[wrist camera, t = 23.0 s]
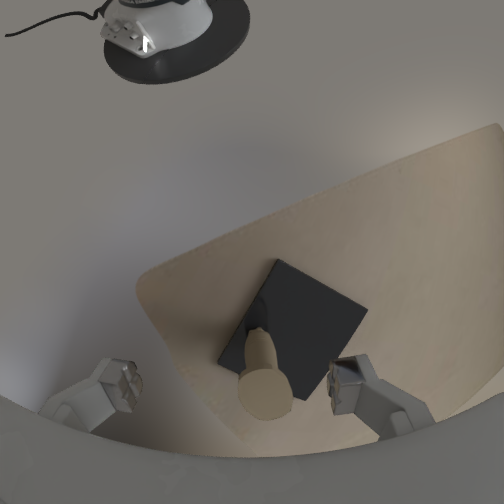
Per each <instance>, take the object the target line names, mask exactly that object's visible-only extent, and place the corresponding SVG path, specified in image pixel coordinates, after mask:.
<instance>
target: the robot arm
mask: <svg viewBox="0 0 504 504" xmlns="http://www.w3.org/2000/svg"><path fill="white" fill-rule="evenodd" d="M98 12H99V13H100V14H101V15H102V17H103V18H105V20H106V23H105V24H104V26H103V28H102V30H101V33H100V34H101V37H102V38H104V39H106V40H108V41H110V42H112V43H114V44H116V45H118V46H119V47H121V48H123V49H125V50H127V51H129V52H131V53H132V54H134V55H136V56H138V57H140V58H147V57H150V56H152V55H153V54H155V53H157V52H159V51H162V50H167V49H172V48H176V47H179V46H182V45H185V44H187V43H189V42H191V41H193V40H195V39H196V38H198V37H199V36H200V35H202V34H203V33H204V32H205V31H206V30H207V29H208V27H209V26H210V24H211V22H212V18H213V15H212V11H211V9H210V8H209V6H208V4H207V2H206V0H107V1H106V2H105V3H104V4H103V5H102V7H100V8H98V9H96V10H95V12H94V15H93V16H91V15H89V14H87V13H85V12H79V11H78V12H69V13H65V14H61V15H57V16H54V17H51V18H49V19H46V20H44V21H41V22H39V23H37V24H35V25H33V26H31V27H29V28H26V29H24V30H22V31H19V32H16V33H12V34H6V35H5V37H11V36H15V35H18V34H21V33H23V32H26V31H28V30H30V29H32V28H35V27H37V26H39V25H41V24H44V23H46V22H48V21H51V20H54V19H57V18H61V17H65V16H70V15H81V16H84V17H86V18H88V19H90V20H95V19H97V17H98ZM141 49H142V50H141ZM136 370H137V367H136V365H135V363H134V362H132V361H126V360H118V359H111V358H103V359H102V360H101V361H100V363H99V364H98V366H97V367H96V368H95V370H94V371H93V373H92V374H91V376H90V377H89V379H84V380H82V381H80V382H79V383H77V384H75V385H73V386H71V387H69V388H67V389H65V390H63V391H61V392H59V393H57V394H55V395H53V396H51V397H50V398H48V400H47V401H46V402H45V404H44V405H43V407H42V408H41V410H40V411H39V412H38V414H37V413H35V412H32V411H30V410H28V409H26V408H24V407H22V406H20V405H18V404H16V403H14V402H12V401H10V400H8V399H7V398H5V397H3V396H1V395H0V504H504V392H502V393H499V394H497V395H495V396H493V397H491V398H489V399H487V400H486V401H484V402H482V403H480V404H478V405H476V406H474V407H472V408H470V409H468V410H466V411H463V412H461V413H459V414H457V415H455V416H452V417H450V418H448V419H445V420H443V421H440V422H438V423H436V422H435V420H434V419H433V417H432V415H431V413H430V411H429V409H428V407H427V406H426V404H425V402H423V401H421V400H419V399H417V398H415V397H414V396H412V395H410V394H408V393H406V392H405V391H403V390H401V389H399V388H397V387H396V386H394V385H392V384H390V383H389V382H387V381H385V380H383V379H379V378H378V376H377V374H376V372H375V370H374V368H373V366H372V364H371V362H370V360H369V358H368V356H367V355H366V354H362V355H356V356H351V357H344V358H337V359H330V361H329V370H330V372H329V374H328V375H327V390H328V395H329V396H330V397H331V398H332V399H331V407H332V410H333V414H334V415H342V414H349V413H354V414H355V415H356V416H357V417H358V418H360V419H361V420H362V421H363V422H364V423H365V424H367V425H368V426H369V427H370V428H371V429H372V430H374V431H375V432H376V433H377V434H378V435H379V436H380V437H379V439H378V441H377V442H374V443H370V444H366V445H361V446H356V447H351V448H346V449H340V450H335V451H328V452H321V453H314V454H305V455H295V456H281V457H257V458H236V457H235V458H233V457H213V456H200V455H199V456H198V455H190V454H181V453H173V452H166V451H160V450H155V449H149V448H143V447H139V446H134V445H130V444H125V443H121V442H117V441H113V440H110V439H105V438H102V437H99V436H95V435H92V434H90V431H92V430H93V429H94V428H95V427H97V426H98V425H99V424H100V423H102V422H103V421H104V420H105V419H107V418H108V417H109V416H111V415H112V414H113V413H114V412H115V411H116V410H117V411H123V412H129V413H132V412H133V409H134V408H135V405H136V403H137V402H136V399H135V398H137V397H138V396H140V394H141V392H142V386H143V384H142V379H141V377H140V375H139V374H138V373H136Z"/></svg>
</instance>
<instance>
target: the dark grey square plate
mask: <svg viewBox="0 0 504 504" xmlns="http://www.w3.org/2000/svg"><path fill="white" fill-rule="evenodd" d="M367 311H368V309H366V308H365V307H363V306H361V305H360V304H358V303H356V302H354V301H353V300H351V299H349V298H347V297H346V296H344V295H342V294H340V293H339V292H337V291H335V290H333V289H332V288H330V287H328V286H326V285H324V284H323V283H321V282H319V281H317V280H316V279H314V278H312V277H310V276H309V275H307V274H305V273H303V272H301V271H300V270H298V269H296V268H294V267H293V266H291V265H289V264H287V263H286V262H284V261H282V260H280V259H278V260H277V261H276V263H275V265H274V267H273V268H272V270H271V272H270V274H269V275H268V277H267V279H266V280H265V282H264V284H263V286H262V287H261V289H260V291H259V293H258V294H257V296H256V298H255V299H254V301H253V303H252V304H251V306H250V308H249V310H248V311H247V313H246V315H245V316H244V318H243V320H242V321H241V323H240V325H239V326H238V328H237V330H236V331H235V333H234V335H233V336H232V338H231V340H230V341H229V343H228V345H227V346H226V348H225V350H224V351H223V353H222V355H221V356H220V358H219V360H218V363H217V364H219V365H221V366H223V367H225V368H227V369H229V370H231V371H234V372H236V373H238V374H241V372H242V371H243V370H245V369H246V363H245V343H246V340H247V337H248V333H249V331H250V330H255V329H257V328H258V327H261V329H262V330H263V331H265V332H268V333H269V335H270V337H271V339H272V341H273V344H274V347H275V350H276V356H277V365H278V369H279V370H280V371H281V372H282V373H283V374H284V375H285V376H286V377H287V380H288V382H289V384H290V387H291V390H292V394H293V397H296V398H299V399H301V400H304V401H306V400H307V399H308V397H309V396H310V395H311V393H312V392H313V391H314V390H315V388H316V387H317V386H318V384H319V383H320V382H321V380H322V379H323V378H324V376H325V375H326V373H327V372H328V371H329V361H330V359H337V358H338V356H339V355H340V354H341V352H342V351H343V349H344V348H345V346H346V345H347V343H348V342H349V340H350V339H351V337H352V335H353V334H354V332H355V331H356V329H357V328H358V326H359V324H360V323H361V321H362V319H363V318H364V316H365V315H366V313H367Z"/></svg>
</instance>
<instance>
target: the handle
mask: <svg viewBox="0 0 504 504" xmlns="http://www.w3.org/2000/svg"><path fill="white" fill-rule="evenodd" d="M245 363H246V369H245V370H243V371H242V372H241V374H240V375H239V381H238V397H239V400H240V402H241V404H242V405H243V407H244V409H245V410H246V411H247V412H248V413H249V414H251V415H252V416H254V417H255V418H257V419H258V420H262V421H269V420H274V419H278V418H280V417H282V416H284V415H286V414H287V413H288V412H289V411H290V410H291V407H292V402H293V394H292V390H291V387H290V384H289V382H288V380H287V377H286V376H285V375H284V374H283V373H282V372H281V371H280V370H279V369H278V365H277V356H276V350H275V347H274V344H273V341H272V339H271V337H270V335H269V333H268V332H265V331H263V330H262V329H261V327H258V328H257V329H255V330H250V331H249V333H248V337H247V340H246V343H245Z"/></svg>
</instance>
